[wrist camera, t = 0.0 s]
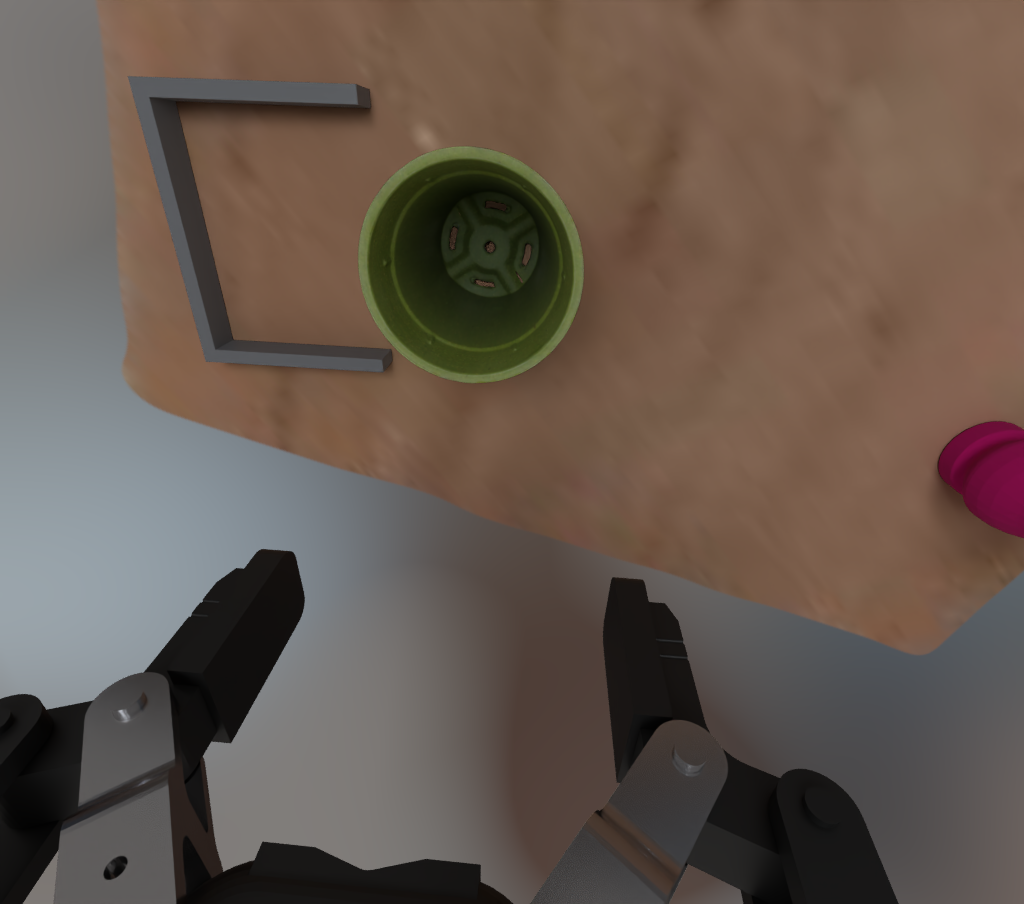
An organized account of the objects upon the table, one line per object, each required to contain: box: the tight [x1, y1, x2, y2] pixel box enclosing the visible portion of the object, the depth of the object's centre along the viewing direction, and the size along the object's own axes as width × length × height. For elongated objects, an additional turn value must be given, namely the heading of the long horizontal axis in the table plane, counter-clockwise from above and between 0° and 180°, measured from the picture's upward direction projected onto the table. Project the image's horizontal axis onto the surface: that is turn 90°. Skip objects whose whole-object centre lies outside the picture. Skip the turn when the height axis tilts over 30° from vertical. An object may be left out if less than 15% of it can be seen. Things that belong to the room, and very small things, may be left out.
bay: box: [128, 76, 392, 372], centre depth 36 cm, size 18×14×2 cm
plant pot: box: [358, 146, 584, 383], centre depth 32 cm, size 12×12×11 cm
